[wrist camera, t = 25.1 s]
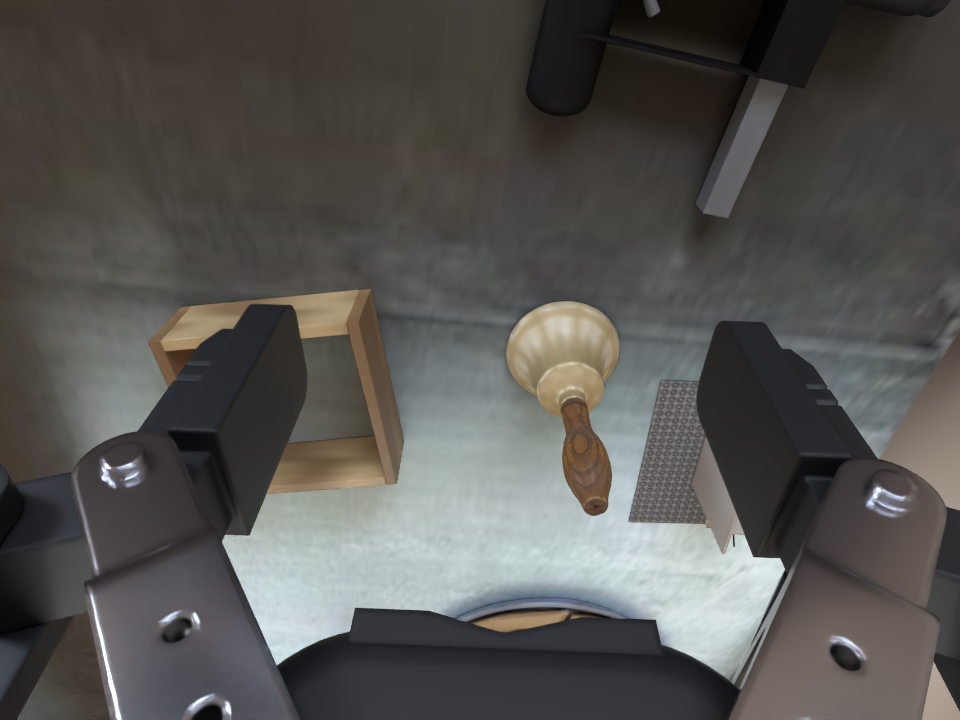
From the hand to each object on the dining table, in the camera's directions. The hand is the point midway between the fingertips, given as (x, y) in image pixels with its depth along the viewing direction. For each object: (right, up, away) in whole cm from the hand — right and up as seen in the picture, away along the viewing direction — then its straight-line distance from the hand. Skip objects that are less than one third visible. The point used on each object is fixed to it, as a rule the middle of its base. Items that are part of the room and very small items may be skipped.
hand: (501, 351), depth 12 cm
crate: (-14, -2, +34) cm, 37 cm away
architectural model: (+19, -8, +38) cm, 43 cm away
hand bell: (+6, +1, +33) cm, 33 cm away
